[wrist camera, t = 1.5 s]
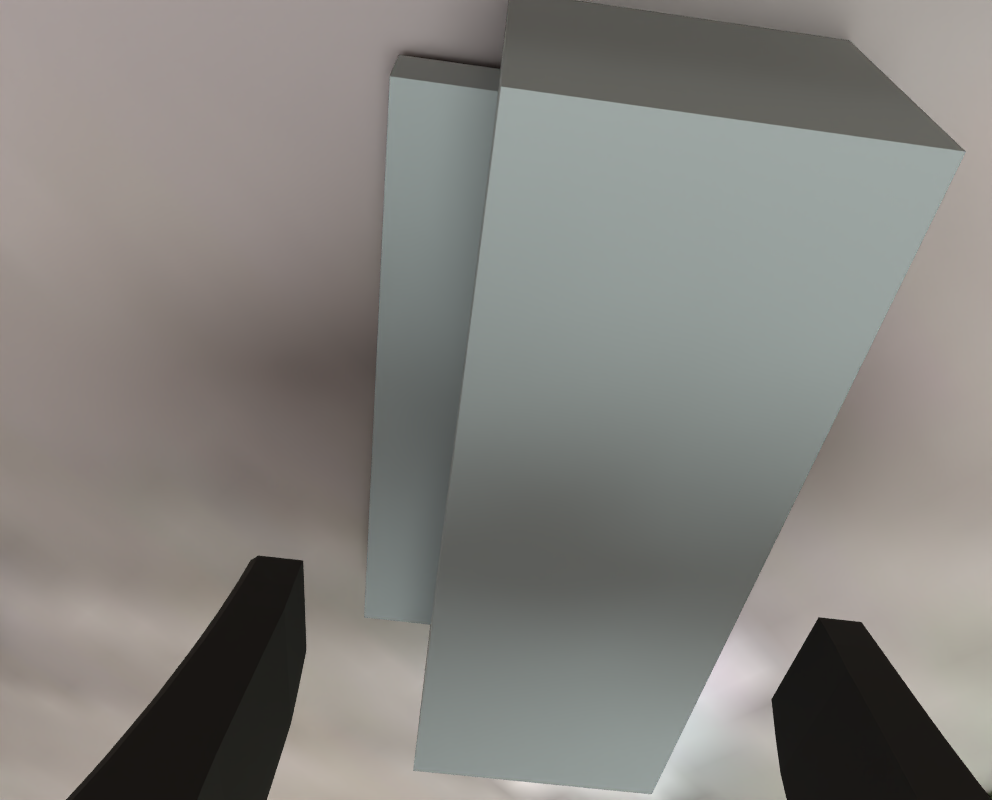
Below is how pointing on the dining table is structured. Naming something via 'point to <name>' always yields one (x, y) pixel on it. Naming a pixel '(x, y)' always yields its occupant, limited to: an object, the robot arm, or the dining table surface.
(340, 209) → the dining table surface
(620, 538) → the tongue plank
